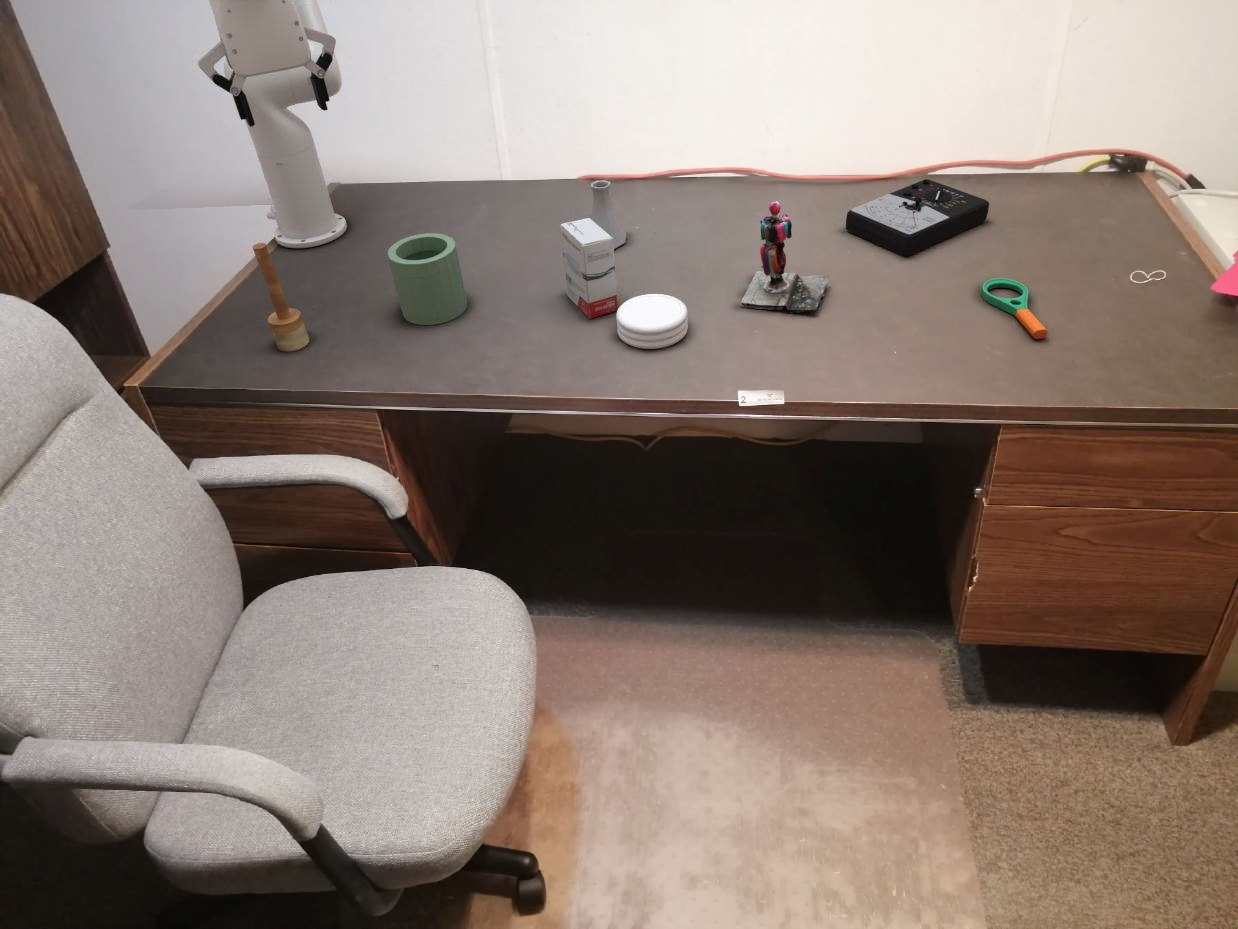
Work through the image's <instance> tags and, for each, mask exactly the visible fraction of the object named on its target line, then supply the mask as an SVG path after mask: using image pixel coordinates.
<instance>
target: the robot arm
mask: <svg viewBox="0 0 1238 929" xmlns="http://www.w3.org/2000/svg"><path fill="white" fill-rule="evenodd" d="M208 2H209V4H210V7H211V10H212V13H213V17H214V21H215V24H216V29H217V32H218V36H219V39H220V41H219V42H217V44H215V45H214V47H212V48H211V49H210V50H209V51H208V52H207V53H205V54H204V55H203V56H202V57H200V59H199V60H198V61H197V65H198V67H199V69H200V70H201V71H202V72H204V73H203V74H205V76H207V77H208V78H209V80H211V81H212V82H213V84H215V85H216V86H218V87H219V88H221V89H222V90H224V91H226V92H228V93H229V94H230V95H231V96H232V98H233V101H234V105H235V108H236V110H237V113H238V116H239V118H240V120H241V121H243V120H244V121H245V125H246V128H247V130H248V132H249V135H250V137H251V140H252V143H253V144H252V145H253V148H254V149H255V150H254V151H255V152H256V156H257V159H258V162H259V165H260V167H261V168H260V169H261V170H262V171H261V172H262V173H263V174H262V175H263V176H264V180H265V183H266V186H267V188H268V192H269V195H270V198H271V201H272V204H270V207H269V208H270V210H268V211H267V212H266V214H265V215H266V218H267V219H269V220H274V221H275V222H276V225H277V228H275V230H274V233H273V234H274V235H273V236H274V239H275V242H276V243H277V244H278V245H279V246H282V247H284V248H289V249H307V248H314V247H318V246H321V245H325V244H328V243H330V242H333V241H335V240H336V239H338V238H339V237H341V236H342V235H344V233H345V232H346V231H347V228H348V224H347V221H346V219H345V217H344V216H342V215H341V214H338V213H335V210H334V206H333V204H332V200H331V197H330V192H329V190H328V186H327V182H326V180H325V176H324V172H323V168H322V165H321V161H320V158H319V155H318V151H317V148H316V144H315V141H314V137H313V134H312V132H311V129H310V128H309V126H308V125H307V124H306V122H305V121H304V120H303V119H301V118H300V117H299V116H298V115H297V114H295V113H294V112H292V111H291V110H289V109H288V107H293V106H295V105H299V104H305V103H308V102H314V101H316V104H317V107H319V109H320V110H321V111H324V112H325V111H328V109H329V108H328V104H327V103H328V102H330V100H331V99H330V98H331V97H334V96H335V95H337V94H338V93H339V92H340V91H341V89H342V84H343V83H342V82H343V81H342V73H341V69H340V65H339V62H338V59H337V55H336V53H335V48H336V44H337V40H336V38H335V37H334V36H333V35H331V34H329V32H328V29H327V27H326V23H325V21H324V17H323V14H322V12H321V9H320V6H319V2H318V0H208ZM224 57H225V60H224V63H223V74H224V76H223V75H222V74H220V73H219V72H218V71H217V70H216V69H215V66H216V64H217V63H218V62H219V61H220V60H221V59H223V58H224Z"/></svg>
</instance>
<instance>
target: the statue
mask: <svg viewBox="0 0 1238 929" xmlns="http://www.w3.org/2000/svg"><path fill="white" fill-rule="evenodd" d="M781 209H782V208H781V204H780V202H779V201H778V200H775V201H772V202H771V203H770V204H769V206H768V210H769V212H770V214H769V215H766V216H764V217H763V218H760V221H759V222H760V240H761V241H765V242H764V243H763V244H761V245H760V248H759V252H760V253H759V254H760V260H761V263H762V265H761V268H762V270H763V271H760V270H756V272H755V273H754V276H753V278H752V279H751V282H750V283H749V286H748V287H747V289H746V291H745V293H744V295H743V297H742V299H741V300H740V304H741V305H740V308H746V309H748V308H752V309H755V310H763V309H765V310H770V311H771V310H775V311H781V310H783V309H784V307H786V309H787V314H795V313H796V314H799V313H804V312H806V311H810V313H812V312H813V310H817V308H818V306H819V304H821V303H822V302H823V301H822V300H821V298H822V297H825V294H826V292H824V291H825V288H826V286H828V281H829V278H830V275H829V274H818V275H805V276H804V275H803V276H802V275H801V276H800V275H799V274H798V272H785V268H786V265H787V255H786V253H785V251H784V248H785V246H786V244H785V242H784V241H787V240H788V239H789V240H790V239H791V238H792V236H793V234H792V226H793V224H792V222H791V219H790V218H789V216H788V214H787V213H785V214H783V215H782V216H781V214H780V212H781Z"/></svg>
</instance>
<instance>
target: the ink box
mask: <svg viewBox="0 0 1238 929" xmlns="http://www.w3.org/2000/svg"><path fill="white" fill-rule="evenodd" d="M590 218H591V217H586V218H581V219H577V220H574V221H567V222H563V223H561V224H560V225H559V231H560V239H561V248H562V249H561V250H562V258H563V267H564V278H565V279H564V280H565V285H566V286H565V287H566V289H565V290H566V296H567V297H568V298H569V300H571V301H572V302H573V303H574V304H575V306H576V307H578V309H579V310H580V311H581V312H582V313H583V315H585V316H586V317H587V318H588V319H594V318H597V317H601V316H605V315H608V314H611V313H614V312H617V311H618V309H619V307H618V292H617V278H616V277H617V276H616V261H615V260H616V259H615V249H614V242H613V238H612V237H611V236H610V235H609V234H608V233H606V232H605V231H604V230H603V229H602V228H601V227H599V226H598V225H597V224H596V223H595V222H594V221H592V220H591V219H590Z"/></svg>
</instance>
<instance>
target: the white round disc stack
mask: <svg viewBox="0 0 1238 929" xmlns="http://www.w3.org/2000/svg"><path fill="white" fill-rule="evenodd" d="M688 314H689V313H688V308H687V306H686V304H685V303H684V302H683V301H682V300H680V299H679V298H676V297H675V296H672V295H668V294H662V293H648V294H642V295H638V296H634V297H631V298H629V299H627V300H626V301H624V302H623V303H621V305H620V306H619V307H618V310H617V311H616V315H615V318H616V327H617V328H616V331H617V334H618V337H619V339H620V340H621V341H622V342H624V343H625V344H627V345H629V346H631V347H634V348H638V349H644V350H657V349H663V348H666V347H670V346H673V345H675V344H676V343H678V342H679V341H681V340H682V339H683V338H685V336H686V334H687V332H688V329H689V325H688V324H689V323H688V322H689V318H688Z"/></svg>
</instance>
